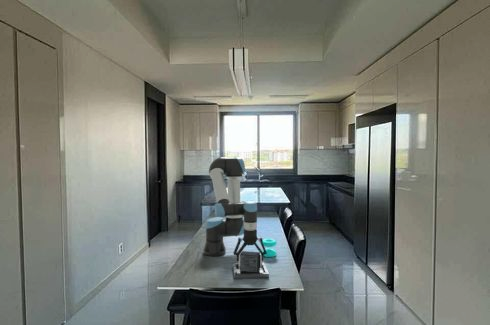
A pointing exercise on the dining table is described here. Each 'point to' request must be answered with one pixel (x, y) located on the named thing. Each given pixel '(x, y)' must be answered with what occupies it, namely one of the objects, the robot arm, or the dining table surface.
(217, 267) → the dining table surface
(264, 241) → the donuts
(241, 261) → the small box
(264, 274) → the tray
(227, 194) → the robot arm
